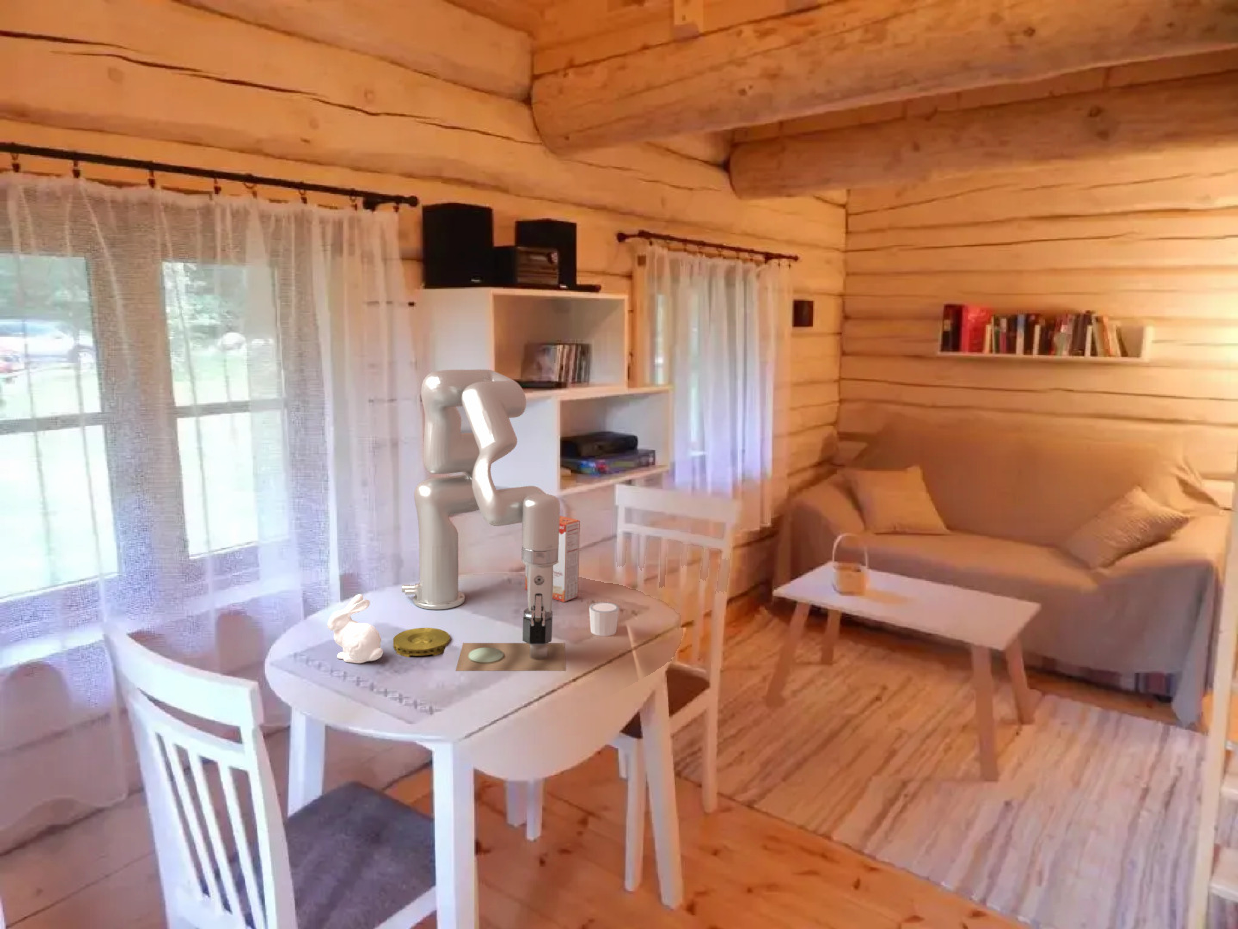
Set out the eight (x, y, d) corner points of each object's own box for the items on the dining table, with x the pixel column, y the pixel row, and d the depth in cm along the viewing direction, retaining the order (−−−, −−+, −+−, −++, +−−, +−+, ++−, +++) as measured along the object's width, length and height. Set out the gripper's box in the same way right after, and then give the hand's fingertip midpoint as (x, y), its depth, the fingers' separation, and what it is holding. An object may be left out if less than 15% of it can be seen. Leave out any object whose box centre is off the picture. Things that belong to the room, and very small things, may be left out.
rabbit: (323, 658, 172) (321, 603, 170) (355, 642, 180) (353, 590, 178) (369, 670, 167) (368, 614, 165) (399, 653, 175) (398, 599, 173)
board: (455, 676, 165) (455, 649, 164) (463, 648, 179) (463, 623, 178) (565, 676, 167) (565, 649, 166) (564, 648, 181) (564, 623, 180)
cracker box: (523, 590, 217) (524, 513, 213) (539, 585, 221) (540, 509, 218) (563, 603, 208) (565, 523, 205) (579, 597, 213) (581, 519, 209)
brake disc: (392, 660, 172) (392, 650, 172) (394, 638, 184) (394, 629, 183) (450, 657, 175) (450, 647, 175) (449, 635, 187) (449, 626, 186)
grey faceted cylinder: (551, 645, 170) (551, 617, 169) (521, 644, 170) (522, 616, 169) (552, 633, 176) (553, 606, 175) (524, 632, 176) (524, 605, 175)
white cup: (601, 628, 193) (602, 599, 192) (624, 635, 189) (625, 607, 188) (582, 636, 188) (582, 607, 187) (605, 644, 184) (606, 614, 182)
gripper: (558, 568, 161) (555, 654, 165) (558, 542, 178) (555, 620, 182) (520, 567, 161) (518, 653, 164) (523, 541, 178) (521, 620, 181)
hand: (537, 635), depth 173 cm, fingers closed on grey faceted cylinder, 6 cm apart
